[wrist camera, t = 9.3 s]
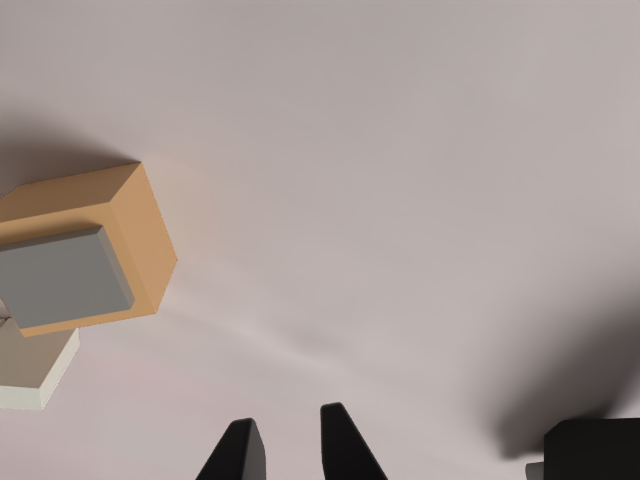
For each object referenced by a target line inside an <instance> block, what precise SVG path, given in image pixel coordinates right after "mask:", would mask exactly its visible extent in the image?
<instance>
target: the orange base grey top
mask: <svg viewBox="0 0 640 480" xmlns="http://www.w3.org/2000/svg"><path fill="white" fill-rule="evenodd" d="M177 260H178V259H177V256H176V254H175V251H174V248H173V245H172V243H171V240H170V237H169V235H168V232H167V229H166V227H165V224H164V221H163V218H162V216H161V213H160V210H159V208H158V205H157V202H156V199H155V197H154V194H153V191H152V189H151V186H150V183H149V180H148V178H147V175H146V172H145V170H144V167H143V164H142V162H139V163H134V164H128V165H123V166H118V167H113V168H108V169H102V170H97V171H92V172H87V173H82V174H76V175H71V176H66V177H61V178H55V179H50V180H45V181H40V182H35V183H29V184H24V185H19V186H17V187H16V188H15V189H14V190H12V191H11V192H10V193H8V194H7V195H6V196H4V197H3V198H2V199H1V200H0V298H1V300H2V301H3V303H4V305H5V306H6V308H7V310H8V311H9V313H10V315H11V316H12V318H13V320H14V322H15V323H16V325H17V327H18V328H19V330H20V332H21V333H22V335H23V337H29V336H34V335H40V334H46V333H51V332H57V331H62V330H68V329H73V328H79V327H85V326H90V325H96V324H101V323H107V322H112V321H118V320H124V319H129V318H135V317H140V316H146V315H151V314H156V312H157V310H158V307H159V305H160V302H161V300H162V297H163V295H164V292H165V290H166V287H167V285H168V283H169V280H170V278H171V275H172V273H173V270H174V268H175V265H176V263H177Z"/></svg>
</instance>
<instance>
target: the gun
mask: <svg viewBox="0 0 640 480" xmlns="http://www.w3.org/2000/svg"><path fill="white" fill-rule="evenodd" d="M525 472H526V477H527V480H640V418H618V419H587V420H564V421H562V422H560V423H559V424H557V425H556V426H555V427H554V428H553V429H551V430H550V431H549V432H548V433H547V434H545V435H544V462H537V463H529V464H526V468H525Z"/></svg>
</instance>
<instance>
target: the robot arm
mask: <svg viewBox="0 0 640 480" xmlns="http://www.w3.org/2000/svg"><path fill="white" fill-rule="evenodd" d="M320 416H321V454H322V465H323V471H324V476H325V480H388V478H387V477H386V475H385V474H384V472H383V470H382V469H381V467H380V465H379V464H378V462H377V460H376V459H375V457H374V455H373V454H372V452H371V450H370V449H369V447H368V445H367V444H366V442H365V440H364V439H363V437H362V436H361V434H360V432H359V431H358V429H357V427H356V426H355V424H354V422H353V421H352V419H351V417H350V416H349V414H348V412H347V411H346V409H345V407H344V406H343V404H342V403H340V402H337V403H331V404H325V405H322V406H321V409H320ZM195 480H266V457H265V449H264V445H263V442H262V439H261V437H260V434H259V431H258V428H257V425H256V423H255V421H254V420H253V419H252V418H245V419H240V420H235V421H233V422H231V423H230V425H229V426H228V428H227V430H226V431H225V433H224V434H223V436H222V438H221V439H220V441H219V442H218V444H217V446H216V447H215V449H214V451H213V452H212V454H211V455H210V457H209V459H208V460H207V462H206V463H205V465H204V467H203V468H202V470H201V471H200V473H199V475H198V476H197V478H196V479H195Z"/></svg>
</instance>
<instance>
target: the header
mask: <svg viewBox="0 0 640 480" xmlns="http://www.w3.org/2000/svg"><path fill="white" fill-rule="evenodd" d="M79 345H80V341H79V328H73V329H68V330H62V331H57V332H51V333H46V334H40V335H34V336H29V337H23V335H22V333H21V332H20V330H19V328H18V327H17V325H16V323H15V322H14V320H13V318H8V320H7V321H6V320H5V318H3V319H0V408H10V409H24V410H37V411H42V410H43V408H44V407H45V405H46V403H47V401H48V400H49V398H50V396H51V394H52V393H53V391H54V389H55V387H56V386H57V384H58V382H59V380H60V379H61V377H62V375H63V373H64V372H65V370H66V368H67V366H68V365H69V363H70V361H71V359H72V358H73V356H74V354H75V352H76V351H77V349H78V347H79Z"/></svg>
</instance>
